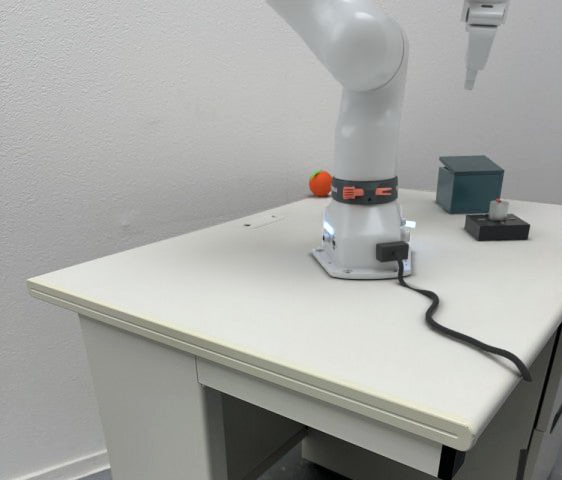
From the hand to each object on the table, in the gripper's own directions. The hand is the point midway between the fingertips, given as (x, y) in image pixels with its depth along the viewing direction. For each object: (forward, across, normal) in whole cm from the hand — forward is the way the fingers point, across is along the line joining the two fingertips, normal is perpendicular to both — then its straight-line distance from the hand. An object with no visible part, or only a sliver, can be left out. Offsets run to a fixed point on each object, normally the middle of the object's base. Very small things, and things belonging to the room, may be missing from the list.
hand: (468, 89), depth 118 cm
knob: (+21, +19, +10) cm, 30 cm away
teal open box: (+27, -7, +6) cm, 29 cm away
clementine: (+32, -16, -34) cm, 49 cm away
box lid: (+18, -8, +5) cm, 20 cm away
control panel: (+24, +19, +10) cm, 33 cm away
